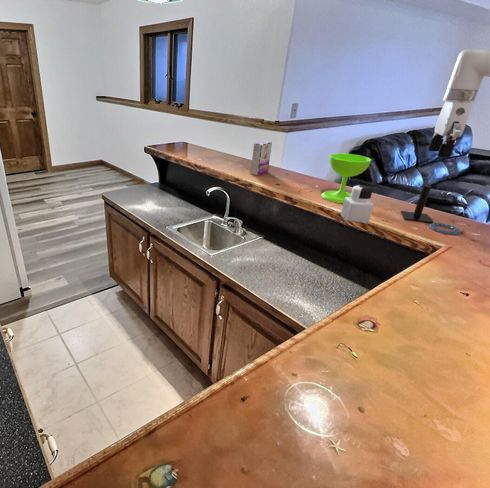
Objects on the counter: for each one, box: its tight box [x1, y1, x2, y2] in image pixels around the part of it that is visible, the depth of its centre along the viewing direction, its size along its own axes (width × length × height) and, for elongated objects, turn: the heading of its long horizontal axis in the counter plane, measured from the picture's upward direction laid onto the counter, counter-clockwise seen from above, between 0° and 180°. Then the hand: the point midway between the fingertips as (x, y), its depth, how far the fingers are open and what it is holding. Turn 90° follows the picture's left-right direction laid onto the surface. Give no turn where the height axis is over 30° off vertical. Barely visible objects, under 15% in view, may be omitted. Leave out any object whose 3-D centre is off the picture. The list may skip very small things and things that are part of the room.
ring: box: [428, 222, 462, 236], centre depth 124 cm, size 9×9×2 cm
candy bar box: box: [250, 140, 273, 176], centre depth 188 cm, size 11×5×16 cm, turn 136°
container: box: [340, 184, 375, 224], centre depth 130 cm, size 8×8×13 cm
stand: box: [400, 184, 434, 225], centre depth 131 cm, size 9×9×14 cm
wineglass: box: [320, 153, 372, 205], centre depth 152 cm, size 16×16×18 cm
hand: (438, 154), depth 112 cm, fingers open, 9 cm apart
